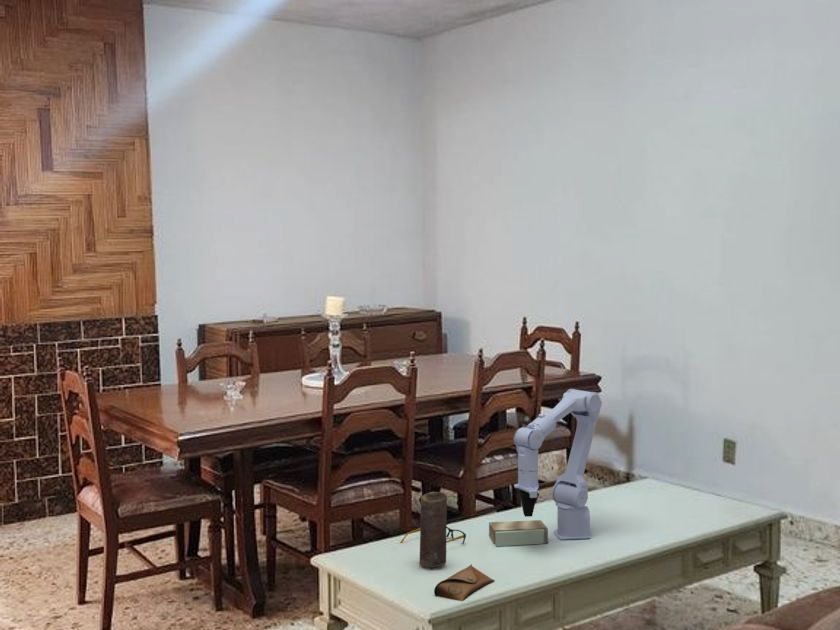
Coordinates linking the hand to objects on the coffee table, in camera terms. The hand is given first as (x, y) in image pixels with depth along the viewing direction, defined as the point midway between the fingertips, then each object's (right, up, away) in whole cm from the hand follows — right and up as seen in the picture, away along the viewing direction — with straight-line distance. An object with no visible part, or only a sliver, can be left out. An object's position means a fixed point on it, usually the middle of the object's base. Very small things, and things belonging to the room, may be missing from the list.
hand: (528, 515), depth 283 cm
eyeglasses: (-27, -10, +6) cm, 30 cm away
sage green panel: (-1, -9, +5) cm, 10 cm away
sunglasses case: (-19, -13, -29) cm, 37 cm away
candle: (-28, -11, -13) cm, 32 cm away
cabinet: (-2, -9, +10) cm, 14 cm away
